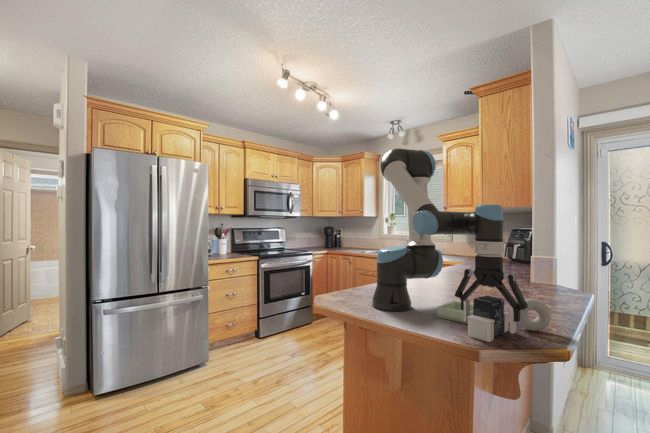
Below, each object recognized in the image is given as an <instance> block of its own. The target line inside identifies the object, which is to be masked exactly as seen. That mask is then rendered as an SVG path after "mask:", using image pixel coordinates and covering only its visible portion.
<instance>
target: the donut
mask: <svg viewBox="0 0 650 433" xmlns="http://www.w3.org/2000/svg"><path fill="white" fill-rule="evenodd" d="M524 299H525V301H526V303H527V305H528V308H526V309H524V310H520V321H518V322H516V324H518V325H519V326H520V327H521V328H523V329H525V330H527V331H530V332H539V331H542V330H544V329H546V328H547V327H548V326H549V325H550V323H551V320H552V314H551V310H550V308H549V306H547V304H545V303H544V302H543V301H541V300H539V299H535V298H524ZM532 310H533V311H536V312H537V317H536V318H535V319H530V318H528V313H529V311H532Z"/></svg>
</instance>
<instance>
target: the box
mask: <svg viewBox="0 0 650 433" xmlns="http://www.w3.org/2000/svg"><path fill="white" fill-rule="evenodd" d="M472 305H473V315H475V316H480V317H484V318H488V319H493V320H495V322H494V338H495V337H497V336H500V335H503V334H505V333H504V311H505V298H502V297H496V296H491V295H484V296H479V297H474V298H473V304H472Z"/></svg>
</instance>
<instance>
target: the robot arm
mask: <svg viewBox="0 0 650 433" xmlns="http://www.w3.org/2000/svg"><path fill="white" fill-rule="evenodd" d="M379 166H380V173H381V174H382V176H383V177H384V179H385V180H386V181H388V182H390V183H391V185H392V186H393V188H394V189H395V191H396V192H397V194H398V195H399V197H400V198H401V199H402V200H403V202H404V204H405V205H406V207H407V218H408V220H407V221H408V222H407V224H408V235H409V236H408V237H409V239H408V240H409V242H407V244H406V245H405V246H403V245H402V246H401V245H399V246H398V245H397V246H385V247H382V248H380V249H378V251H377V255H376V288H375V291H374V294H373V296H372V299H371V301H372V302H371V303H372V304H371V305H372V307H374V308H376V309H378V310H381V311H387V312H405V311H409V310H411V309H412V300H411V297H410V293H409V290H408V286H407V285H408V280H414V279H417V280H418V279H425V280H426V279H430V278H431V279H432V278H436V277H437V276H438V275H439V274H440V273H441V271H442V269H443V265H444V259H443V255H442V254H441V252H440V250H438V249H436V244H435V243H434V242H433V241H432V236H431V235H433V236H434V235H456V236H457V235H460V236H462V235H465V236H466V235H467V236H469V235H470V236H471V235H472V236H475V237H474V242H475V244H474V245H475V246H474V248H475V249H474V250H475V251H474V253H475V254H476V255H475V257H474V267H475V268H474V269H471V268H466V269H464V272H463V277H462V279H461V281H460V283H459V286H458V287H457V289H456V291H455V293H454V296H455V297H456V298H458V299H459V300H460V302H461V310H464V322H467V321H468V319H467V317H468V316H470V304H471V302H470V299H468V298H469V297H470V296H471V295H472V294H474V292H475V291H476V289H477V288H479V286H482V287H490V288H496V290H498V291H499V292H500V293H501V295H502V296H503V297H504V298H503V299H504V300H506V302H507V303H508V305H510V307H511V309H510V310H509V333H510V334H515V333H516V332H517V322H518V321H520V310H524V309H526V308H528V305H527V303H526V301H525V299H526V298H525V297H524V295H523V293H522V291H521V289H520V287H519V285H518V283H517V278H516V274H514V273H511V274H508V273H507V274H506V273H505V272H504V258H503V255H504V220H505V219H504V209H503V207H502V205H500V204H492V203H491V204H477V205H476V206H475V207H474V208H475V209H474V211H441V210H439V209H438V207H436V206H435V204H434V203H433V202H432V200H431V199H430V198H429V192H428V184H429V183H430V181H431V180H432V179H431V178H432V177H433V176H434V174H435V171H436V167H437V164H436V159H435V157H434V156H433V154H432V153H431V152H429V151H425V150H422V149H407V148H400V147H399V148H398V147H397V148H393V149H390V150H388V151H387V152H386V153H385V154H384V155H383V156H382V158H381V160H380V165H379ZM473 275H474V277H475V279H476V280H474V281H473V283H472V284H471V285H470V286H469V287H468V289H466V287H467V286H468V284H469V282H470V280H471V277H473ZM504 279H505V281H506V282H507V283H508V285H509V287H510V289H511V291H512V293H513V295H514V296H513V295H512V294H511V293H510V291H509V290H508V289H507V287H506V285H505V284H504V282H503V280H504ZM465 289H466V291H465ZM464 291H465V292H464Z"/></svg>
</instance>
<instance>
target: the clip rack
mask: <svg viewBox="0 0 650 433" xmlns="http://www.w3.org/2000/svg"><path fill="white" fill-rule="evenodd" d="M509 316H510V311H505V310H504V333H503V334H505V333H507V332H508V331H509ZM467 319H468V324H467V337H470V338H473V339H477V340H481V341H483V342H488V343H490V342H492V341H493V340H494V339H495V337H494V322H495V320H493V319H488V318H484V317H480V316H475V315H470V316H468V317H467Z"/></svg>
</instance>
